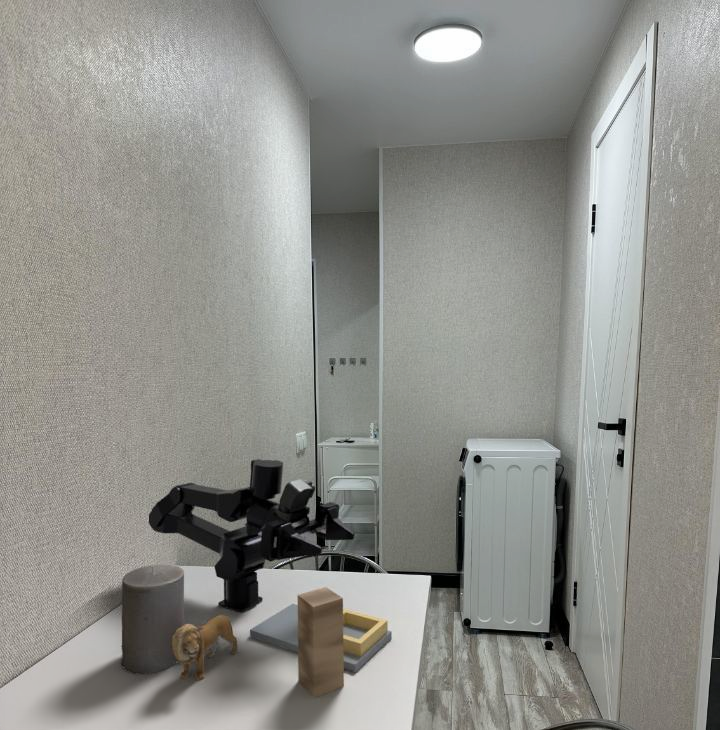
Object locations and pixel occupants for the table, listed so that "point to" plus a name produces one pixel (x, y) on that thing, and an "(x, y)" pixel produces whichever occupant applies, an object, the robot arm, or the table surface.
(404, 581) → the table surface
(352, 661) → the base board
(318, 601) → the walnut column
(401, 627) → the table surface
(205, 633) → the lion figurine
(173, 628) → the pillar candle
